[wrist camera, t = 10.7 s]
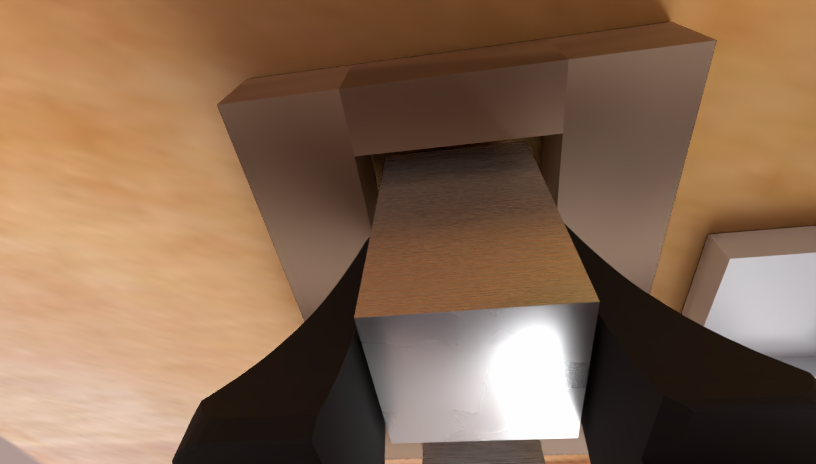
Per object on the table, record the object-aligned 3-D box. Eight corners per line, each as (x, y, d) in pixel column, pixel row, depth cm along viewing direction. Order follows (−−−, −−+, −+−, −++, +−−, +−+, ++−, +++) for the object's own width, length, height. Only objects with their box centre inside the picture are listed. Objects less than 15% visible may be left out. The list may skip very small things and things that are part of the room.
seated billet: (515, 383, 23) (543, 535, 17) (433, 387, 23) (434, 535, 18) (516, 327, 20) (549, 484, 15) (424, 333, 21) (422, 487, 15)
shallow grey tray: (819, 355, 20) (844, 382, 19) (665, 363, 21) (679, 389, 20) (910, 217, 16) (949, 242, 15) (708, 234, 17) (730, 258, 15)
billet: (524, 252, 16) (577, 437, 10) (405, 262, 16) (391, 443, 10) (526, 140, 13) (600, 301, 7) (385, 156, 14) (354, 317, 8)
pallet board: (593, 410, 24) (607, 453, 22) (366, 419, 25) (361, 460, 23) (671, 21, 12) (716, 40, 10) (246, 79, 14) (216, 105, 12)
